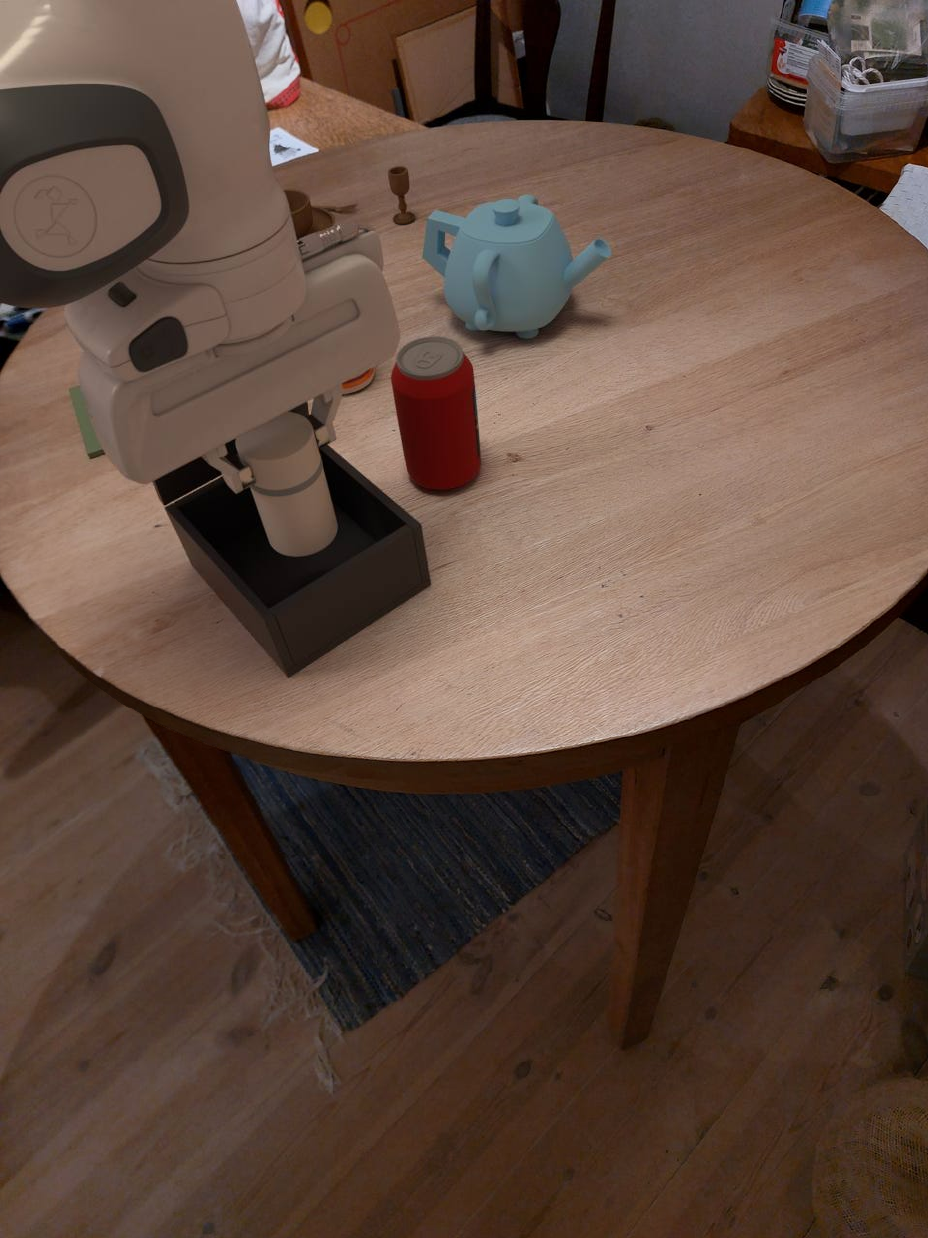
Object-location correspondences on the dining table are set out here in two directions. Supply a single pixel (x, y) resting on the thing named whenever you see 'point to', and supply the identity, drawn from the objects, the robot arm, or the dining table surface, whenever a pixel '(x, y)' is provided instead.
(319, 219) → the place setting
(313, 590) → the black keepsake box
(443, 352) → the beverage can
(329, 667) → the dining table surface
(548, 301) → the teapot
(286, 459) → the container
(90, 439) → the mat
